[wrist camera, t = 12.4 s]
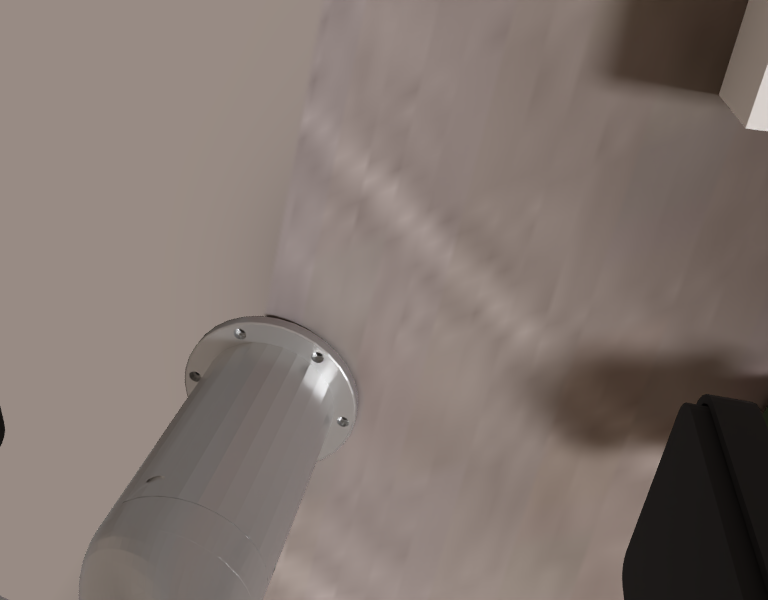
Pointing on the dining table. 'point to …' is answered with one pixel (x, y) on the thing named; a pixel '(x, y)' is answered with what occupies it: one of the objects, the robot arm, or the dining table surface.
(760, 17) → the lettered cube
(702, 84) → the dining table surface
